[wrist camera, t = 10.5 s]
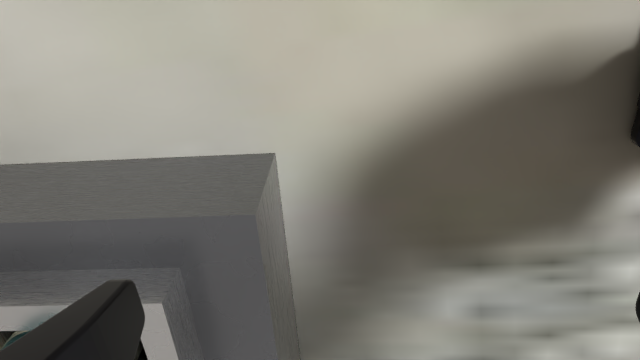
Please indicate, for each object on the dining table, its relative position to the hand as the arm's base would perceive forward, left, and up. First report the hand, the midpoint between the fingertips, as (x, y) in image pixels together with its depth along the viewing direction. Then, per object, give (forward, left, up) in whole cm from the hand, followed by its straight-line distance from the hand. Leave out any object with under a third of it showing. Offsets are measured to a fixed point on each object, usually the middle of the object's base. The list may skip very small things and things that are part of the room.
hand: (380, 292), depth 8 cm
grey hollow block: (+13, +10, -13) cm, 21 cm away
